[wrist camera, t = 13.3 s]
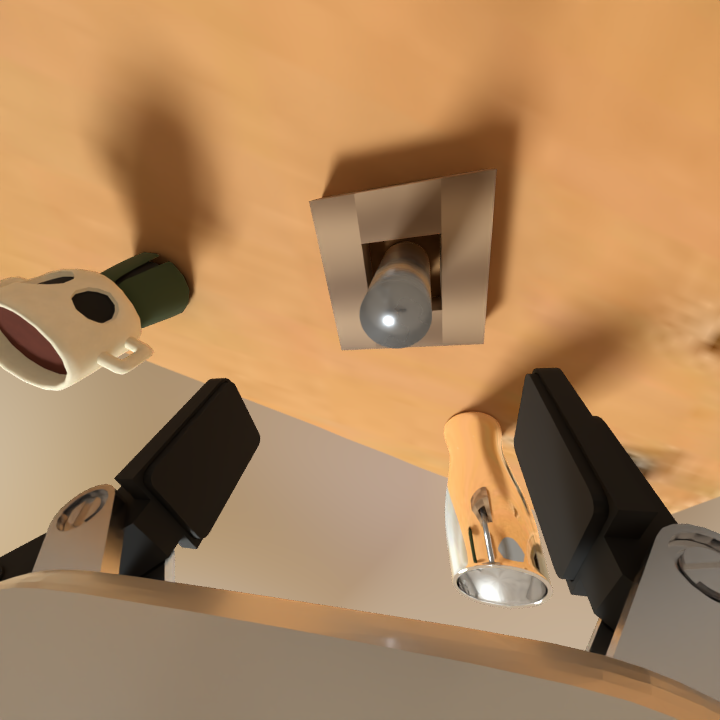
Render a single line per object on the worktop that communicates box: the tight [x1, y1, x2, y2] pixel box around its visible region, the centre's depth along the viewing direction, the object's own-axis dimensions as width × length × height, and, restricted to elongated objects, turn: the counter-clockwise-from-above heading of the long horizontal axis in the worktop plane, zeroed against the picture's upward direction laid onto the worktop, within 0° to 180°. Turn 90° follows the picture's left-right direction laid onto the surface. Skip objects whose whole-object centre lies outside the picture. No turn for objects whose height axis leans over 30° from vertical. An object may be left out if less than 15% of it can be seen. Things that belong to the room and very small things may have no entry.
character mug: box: [0, 252, 189, 391], centre depth 24 cm, size 11×7×13 cm, turn 59°
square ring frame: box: [309, 169, 497, 350], centre depth 23 cm, size 12×12×3 cm
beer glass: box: [444, 412, 553, 608], centre depth 27 cm, size 7×7×15 cm
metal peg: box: [359, 242, 432, 348], centre depth 20 cm, size 4×4×10 cm
